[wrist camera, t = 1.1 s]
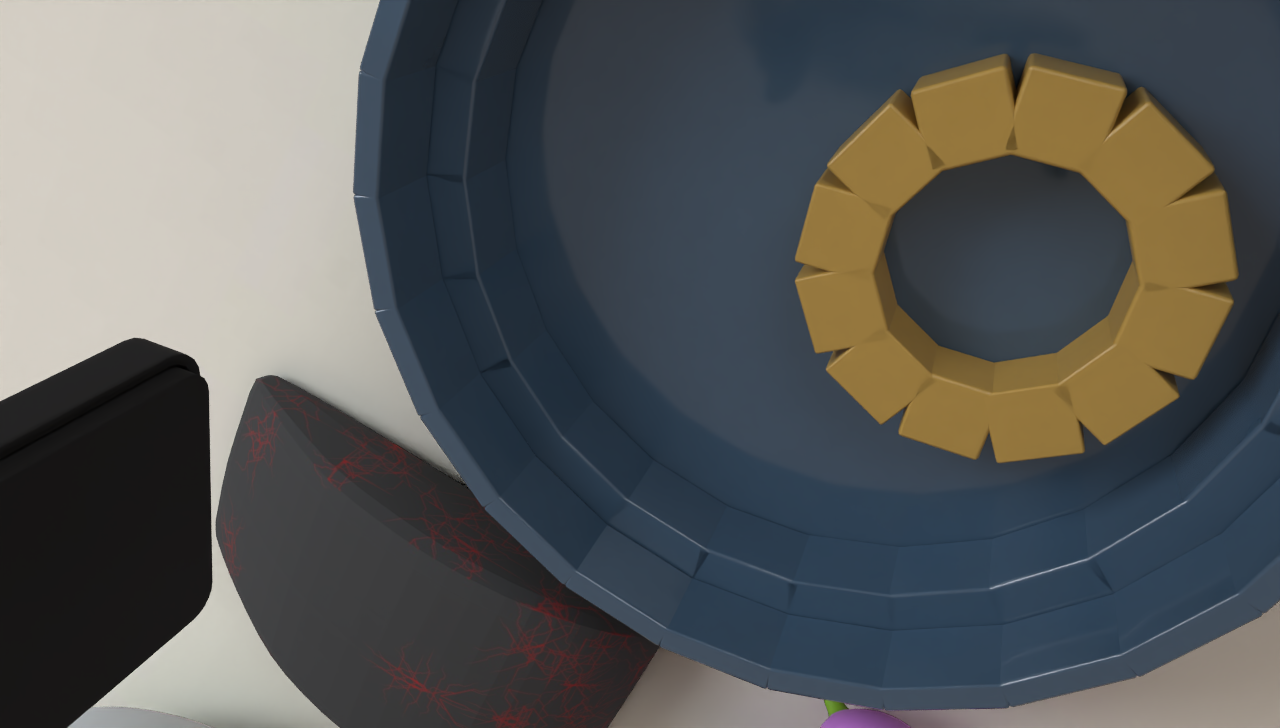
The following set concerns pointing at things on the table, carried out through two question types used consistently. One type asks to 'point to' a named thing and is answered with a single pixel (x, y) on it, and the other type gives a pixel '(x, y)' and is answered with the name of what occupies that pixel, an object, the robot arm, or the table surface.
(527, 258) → the bowl
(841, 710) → the purple piece
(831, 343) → the ring
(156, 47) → the table surface
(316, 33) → the table surface
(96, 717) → the serving bowl
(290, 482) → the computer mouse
